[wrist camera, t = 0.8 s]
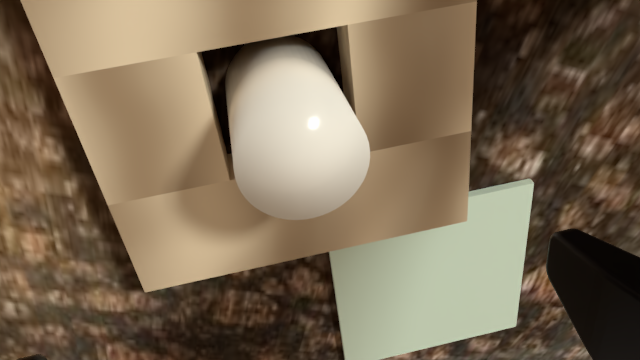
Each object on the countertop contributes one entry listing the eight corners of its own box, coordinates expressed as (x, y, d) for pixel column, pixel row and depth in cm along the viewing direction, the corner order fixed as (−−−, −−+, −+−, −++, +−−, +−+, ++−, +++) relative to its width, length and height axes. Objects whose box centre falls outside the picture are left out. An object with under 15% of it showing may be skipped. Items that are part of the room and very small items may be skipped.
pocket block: (456, -156, 17) (483, -155, 15) (449, 195, 25) (467, 221, 23) (8, -88, 16) (-14, -79, 14) (148, 260, 24) (145, 292, 22)
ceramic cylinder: (322, 24, 19) (365, 87, 14) (333, 121, 22) (374, 204, 17) (214, 44, 19) (219, 115, 14) (237, 140, 21) (248, 232, 16)
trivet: (529, 178, 25) (534, 182, 25) (512, 321, 31) (515, 326, 30) (324, 222, 24) (326, 228, 24) (344, 361, 30) (346, 367, 30)
